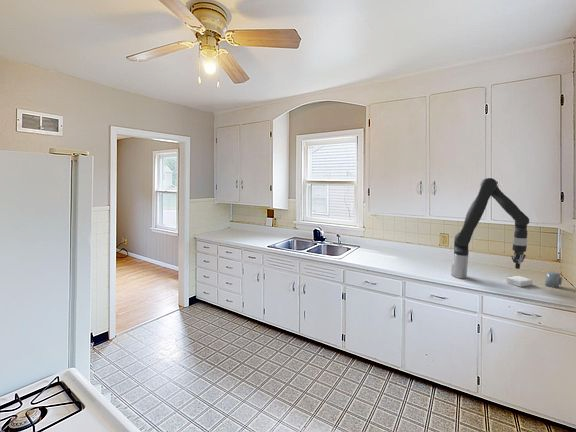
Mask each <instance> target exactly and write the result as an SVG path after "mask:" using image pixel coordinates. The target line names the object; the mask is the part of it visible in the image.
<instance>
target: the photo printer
mask: <svg viewBox="0 0 576 432" xmlns="http://www.w3.org/2000/svg"><path fill="white" fill-rule="evenodd" d="M506 283H507V284H510V285H513V286H515V287H518V288H521V287H522V288H523V287H528V286H532V285H533V283H534V281H533V280H531V279H530V278H527V277H523V276H519V275H516V276H515V275H514V276H508V277H507V278H506Z"/></svg>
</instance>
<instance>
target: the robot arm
mask: <svg viewBox="0 0 576 432" xmlns="http://www.w3.org/2000/svg"><path fill="white" fill-rule="evenodd" d="M490 197H492V198H493V200H495V201H496V202H497V203H498V204H499V206H500V207H501V208H502V210H503V211H504V212H505V213H507V214H508V215H509V216H510V217H511V218H512V219H513V221H514V233H513V234H514V235H513V240H512V251H514V253H513V255H511V256H510V257H511V260H512V262H513V263H514V264H515V266H514V268H515V269H516V270H519V269H521V264H522V263H523V262H524V260H525V258H526V256H527V255H526V254H524V253H525V252H527V246H528V229H527V228H528V225H529V224H530V218H529V216H527V215H526V214H525V212H523V211H522V210H521V209H520V208H519V207H518V206H517V204H515V203H514V201H513V200H511V198H509V197H508V196H507V195H506V194H505V193H504V192H502V190H501V189H500V188H499V186H498V182H497V180H496V179H495V178H492V177H487V178H484V179H482V180H481V182H480V188H479V191H478V193H477V196H476V197H475V198H474V200H473V202H472V203H471V205H470V206H469V208H468V210H467V212H466V215H465V217H464V223H463V226H462V228H461V229H460V232H457V233H456V234H455V236H454V241H453V243H454V244H453V246H454V247H453V262H452V264H451V272H450V273H451V274H450V275H451V276H452V277H453V278H456V279H467V278H468V265H469V244H470V242H471V239H472V237H473V233H474V231H475V229H476V228H477V226H478V224H479V222H480V221H481V219H482V216H483V215H484V212H485V211H486V207H487V205H488V202H489V200H490Z"/></svg>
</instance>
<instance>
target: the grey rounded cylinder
mask: <svg viewBox="0 0 576 432" xmlns="http://www.w3.org/2000/svg"><path fill="white" fill-rule="evenodd" d="M544 282H545V283H544V285H545V287H548V288H551V287H552V288H553V289H559V287H560V286H562V283H563V277H562V276H561V274H560V273H559V272H555V271H546V273H545V281H544Z"/></svg>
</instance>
